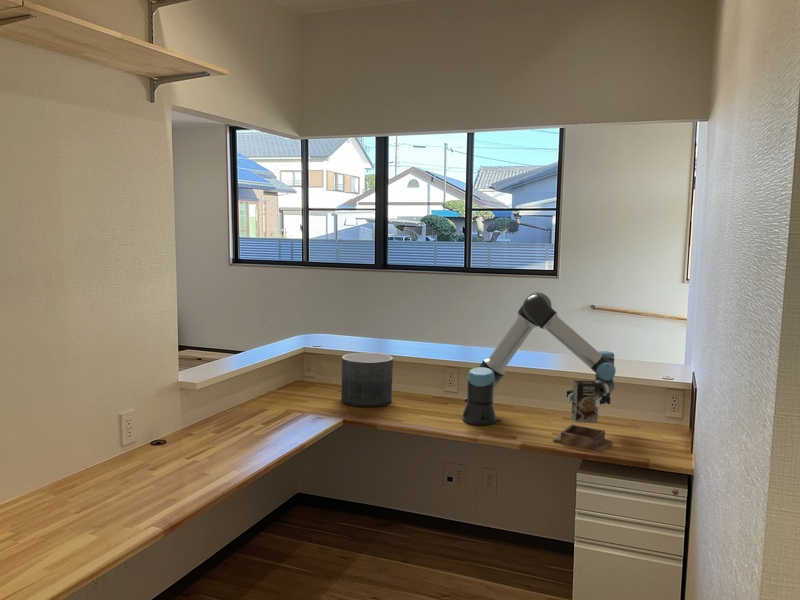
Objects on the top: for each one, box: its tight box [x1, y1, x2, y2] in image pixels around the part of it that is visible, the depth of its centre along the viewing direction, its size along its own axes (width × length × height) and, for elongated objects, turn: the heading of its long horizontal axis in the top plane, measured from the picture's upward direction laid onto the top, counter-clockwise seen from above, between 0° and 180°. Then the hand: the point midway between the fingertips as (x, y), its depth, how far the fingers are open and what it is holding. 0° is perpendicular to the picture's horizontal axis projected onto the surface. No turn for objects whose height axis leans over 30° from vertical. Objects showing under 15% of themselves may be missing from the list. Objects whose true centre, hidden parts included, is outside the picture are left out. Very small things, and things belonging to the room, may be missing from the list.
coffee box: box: [570, 380, 600, 424], centre depth 247 cm, size 9×6×16 cm
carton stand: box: [552, 424, 613, 453], centre depth 249 cm, size 20×14×4 cm
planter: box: [340, 352, 394, 408], centre depth 302 cm, size 25×25×22 cm
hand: (582, 401), depth 244 cm, fingers closed on coffee box, 11 cm apart
